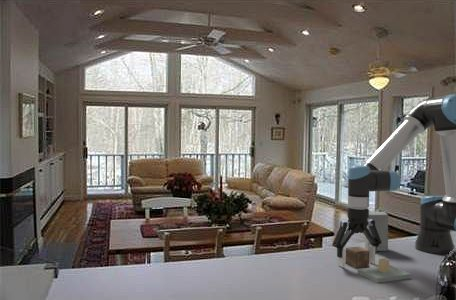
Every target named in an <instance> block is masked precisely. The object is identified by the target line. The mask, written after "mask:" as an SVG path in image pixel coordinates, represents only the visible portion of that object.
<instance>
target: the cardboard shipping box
mask: <svg viewBox="0 0 456 300" xmlns="http://www.w3.org/2000/svg"><path fill="white" fill-rule="evenodd" d="M345 264H346V265H347V266H349V267H352V268H354V269H363V268H370V262H369V250H368V249H367V248H364V247H362V246H358V245H357V246H350V247H349V246H347V247H345Z"/></svg>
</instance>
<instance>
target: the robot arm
mask: <svg viewBox="0 0 456 300" xmlns="http://www.w3.org/2000/svg"><path fill="white" fill-rule="evenodd" d="M430 127H434V129H433V130H434V132H435V133H436V134H437V135H439V143H440V153H441V163H442V171H443V178H444V179H443V181H444V187H445V189H444V190H445V194H444V195H424V196H422V197H421V198H420V205H419V207H420V208H419V209H420V210H419V211H420V212H419V215H420V216H419V219H420V220H419V232H418V234H417V238H416V240H415V243H414V247H415V249H416V250H419V251H421V252H425V253H430V254H436V255H437V254H438V255H448V254H447V253H449V252H450V251H452V250H453V249H456V248H455V244H454V242H453V239H452V234H451V231H454V232H456V93H454V94H453V93H452V94H451V93H450V94H446V95H439V96H431V97H428V98H425V99H423V100H421V101H420V102H419V103H417V104H416V105H415V106H414V107H413V108H412V109H411V110H410V111H408V113H407V114H406V115H405V116H404V117H403V122H402V123H400V125H399V126H398V127H397V129H395V130H394V132H392V134H390V136H389V137H388V138H387V139H386V140H385V141H384V142H383V143H382V144H381V145H380V146H379V148H378V149H377V150H376V151H375V152H374V153H373V154H371V156H370V157H369V158H368V159H367V160H366V161H365V162H364V163H363V165H350V166H349V168H348V174H347V183H348V184H347V218H348V219H347V221H343V220H341V221H340V222H339V223H340V224H339V228H338V231H337V232H336V236H335V237H334V240H333V242H332V247H333V248H336V256H337V258H338V260H337V261H338V263H337V264H338V265H337V266H339V267H341V268H345V267H346V266H345V256H346V248H345V247H346V245H347V244H348V242H349V240H350V239H351V238H352V237H353V235H355V234H359V233H360V234H363V235H364V236H366V238H367V239H368V241H369V242H370V243H371V245H369V264H372V265H375V264H376V255H377V252H378V251H377V247H378V246H379V244H381V243H382V242H381V239H380V237H379V234H378V232H377V229H376V226H375V220H371V219H369V220H368V218H369V212H370V210H369V207H370V192H394V191H397V190H398V189H399V188H400V186H401V177H400V174H398V172H397V171H394V170H386V169H387V168H388V167H389V166H390V165H391V163H393V161H394V160H395V159H396V158H397V157H398V156H400V154H401V153H402V151H404V150H405V149H406V148H407V146H408V145H409V144H410V143H411V142H412V141H413V140H414V139H415V138H416V137H417V136H418V135H419V134H423V133H424V132H425V131H426V130H427V129H428V128H430ZM368 225H369V228H370V231H371V233H372V235H371V234H370V232H369V230H368V228H367V226H368ZM372 236H373V237H372ZM344 248H345V249H344Z"/></svg>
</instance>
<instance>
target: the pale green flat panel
mask: <svg viewBox="0 0 456 300" xmlns="http://www.w3.org/2000/svg"><path fill="white" fill-rule="evenodd" d="M356 273H357V274H358V275H359V276H362V277H364V278H366V279H368V280H370V281H373V282H374V283H377V284H378V283H385V282H393V281H400V280H401V281H402V280H408V279H412V276H411V275H412V274H411V273H410V272H407V271H405V270H402V269H400V268H397V267H396V266H395V267H394V266H392V265H390V260H389V259H386V258H379V259H378V266H374V267H373V266H372V267H362V268H357V272H356Z"/></svg>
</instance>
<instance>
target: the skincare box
mask: <svg viewBox="0 0 456 300" xmlns="http://www.w3.org/2000/svg"><path fill="white" fill-rule="evenodd" d="M369 219H371V220H375V226H376V229H377V232H378V234H379V237H380V239H381V242H382V243H381V244H379V246H378V247H377V252H388V251H389V214H388V213H386V212H385V211H369V218H368V220H369ZM367 228H368V230H369V232H370V234H371V235H372V233H371V231H370V228H369V225H368V226H367ZM364 236H365V235H364ZM372 237H373V236H372ZM364 238H365V240H364V241H365V242H364V244H365V245H364V247H365V249H367V250H369V245H371V243H370V242H369V241H368V239H367V238H366V236H365V237H364Z"/></svg>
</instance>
